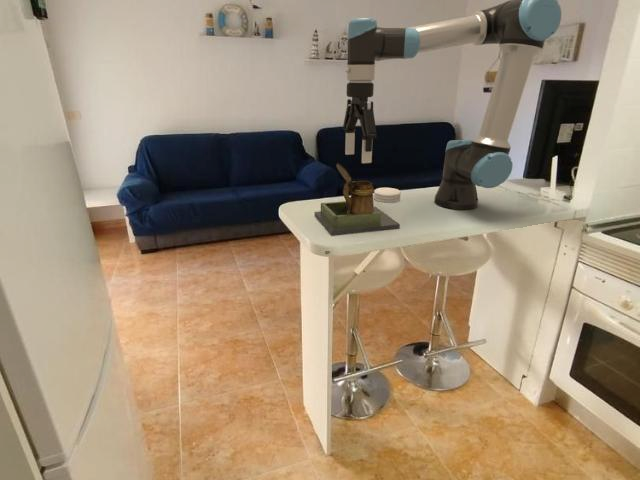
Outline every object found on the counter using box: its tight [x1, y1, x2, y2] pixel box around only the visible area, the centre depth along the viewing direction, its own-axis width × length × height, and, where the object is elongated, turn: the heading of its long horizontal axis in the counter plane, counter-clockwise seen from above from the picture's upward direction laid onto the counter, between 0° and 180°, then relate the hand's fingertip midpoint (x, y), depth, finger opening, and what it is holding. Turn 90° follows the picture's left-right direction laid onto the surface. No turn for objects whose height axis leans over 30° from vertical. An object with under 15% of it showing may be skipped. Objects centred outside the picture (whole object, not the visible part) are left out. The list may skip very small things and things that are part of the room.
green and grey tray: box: [314, 200, 401, 237], centre depth 125 cm, size 22×18×5 cm
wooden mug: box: [336, 162, 375, 215], centre depth 121 cm, size 9×14×18 cm, turn 113°
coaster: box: [373, 187, 402, 204], centre depth 149 cm, size 10×10×4 cm
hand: (357, 158), depth 118 cm, fingers open, 13 cm apart
